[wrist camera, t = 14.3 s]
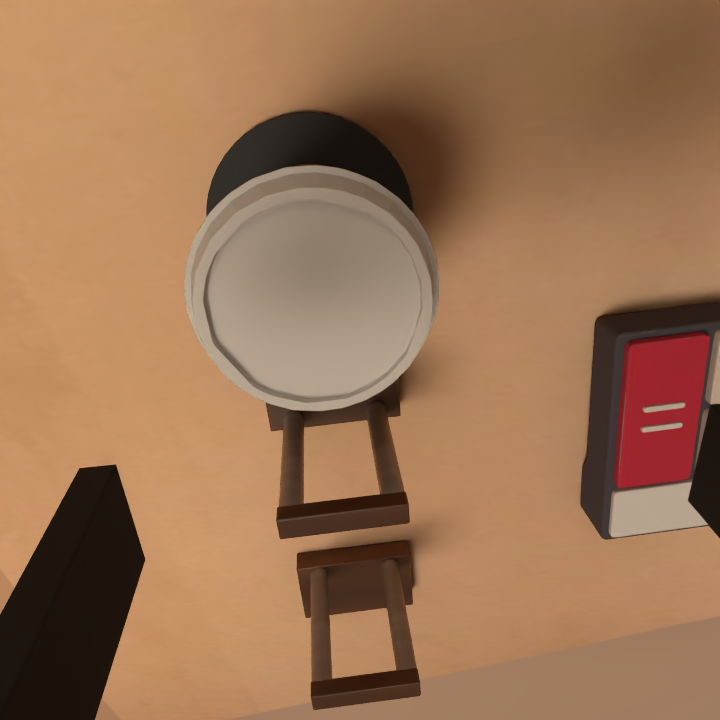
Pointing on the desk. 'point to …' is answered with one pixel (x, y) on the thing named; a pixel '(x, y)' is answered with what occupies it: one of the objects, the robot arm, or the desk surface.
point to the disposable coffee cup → (311, 287)
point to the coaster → (307, 153)
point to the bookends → (350, 552)
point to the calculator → (649, 417)
